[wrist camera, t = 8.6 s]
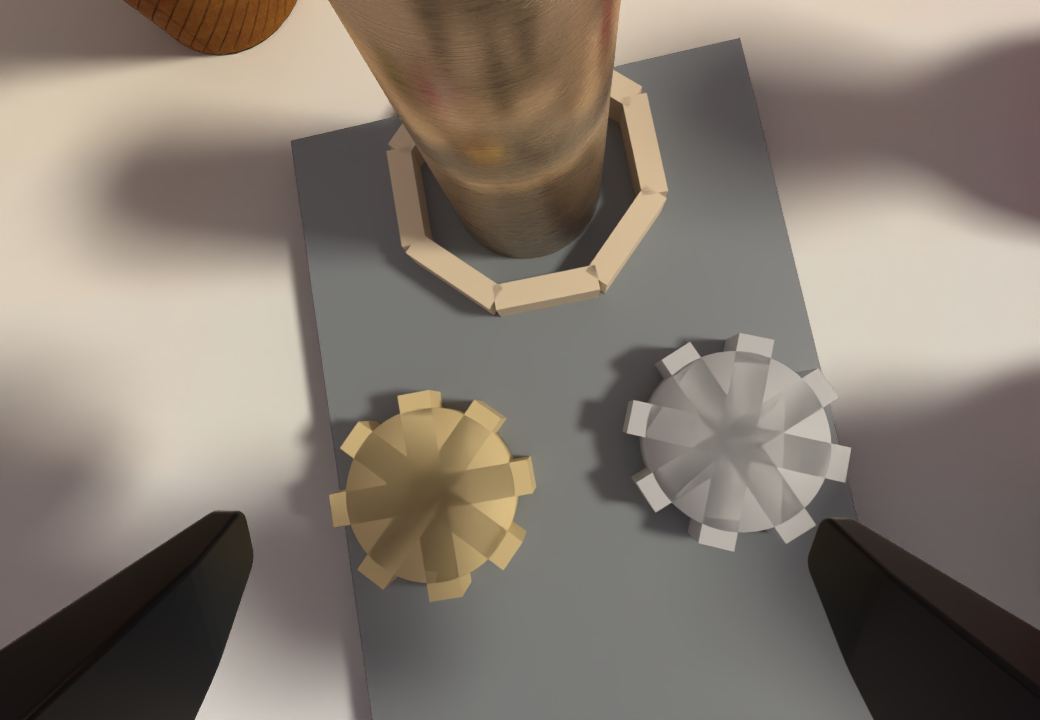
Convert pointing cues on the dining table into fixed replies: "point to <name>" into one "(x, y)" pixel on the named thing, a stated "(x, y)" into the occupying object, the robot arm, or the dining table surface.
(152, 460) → the dining table surface
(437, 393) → the gear board
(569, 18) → the metal can
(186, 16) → the disposable coffee cup
